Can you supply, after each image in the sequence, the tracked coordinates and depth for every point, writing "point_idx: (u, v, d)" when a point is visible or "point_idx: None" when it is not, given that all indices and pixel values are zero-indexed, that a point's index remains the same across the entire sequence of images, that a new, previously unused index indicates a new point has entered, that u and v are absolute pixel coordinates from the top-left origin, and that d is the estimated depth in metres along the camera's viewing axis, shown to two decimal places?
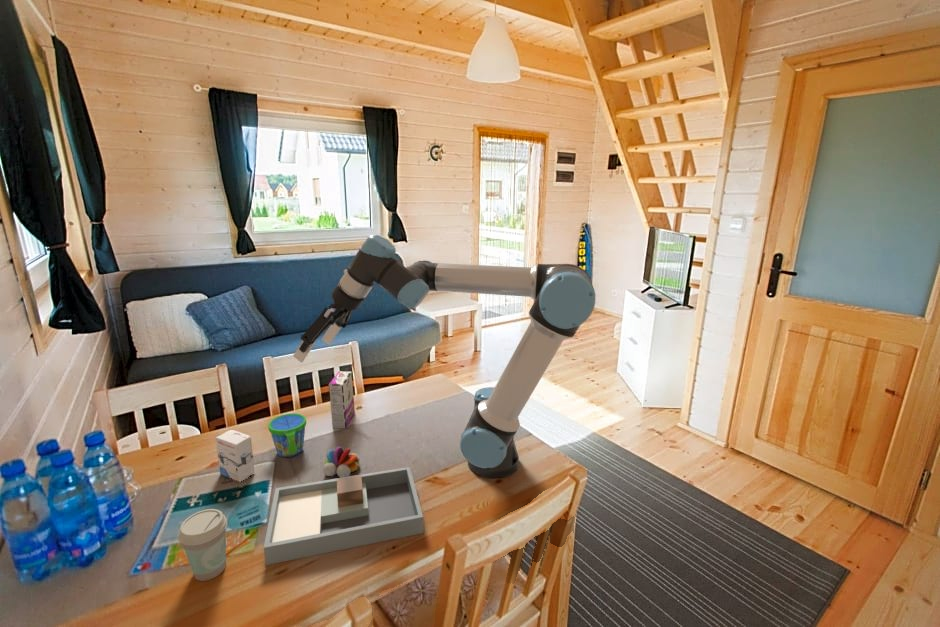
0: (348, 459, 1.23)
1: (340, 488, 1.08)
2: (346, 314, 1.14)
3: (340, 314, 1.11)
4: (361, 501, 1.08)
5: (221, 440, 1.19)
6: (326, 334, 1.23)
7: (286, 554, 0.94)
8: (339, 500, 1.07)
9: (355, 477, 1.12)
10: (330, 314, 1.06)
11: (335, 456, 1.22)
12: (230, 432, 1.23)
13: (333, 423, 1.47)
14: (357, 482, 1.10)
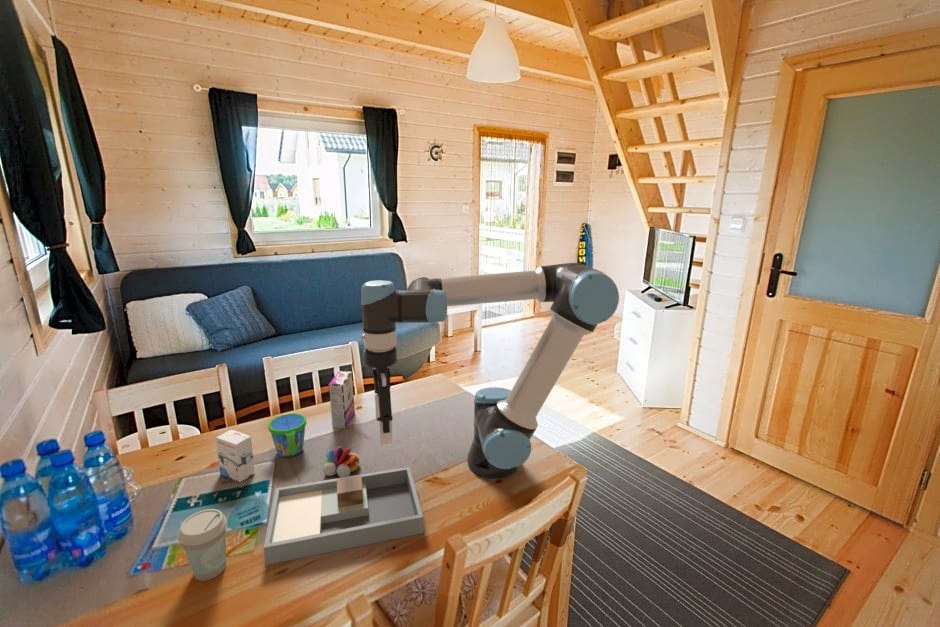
0: (348, 459, 1.24)
1: (340, 488, 1.08)
2: None
3: (388, 375, 1.03)
4: (361, 501, 1.08)
5: (221, 440, 1.19)
6: (377, 410, 1.13)
7: (286, 554, 0.94)
8: (339, 500, 1.07)
9: (355, 477, 1.12)
10: (387, 380, 0.98)
11: (335, 456, 1.22)
12: (230, 432, 1.23)
13: (333, 423, 1.47)
14: (357, 482, 1.10)
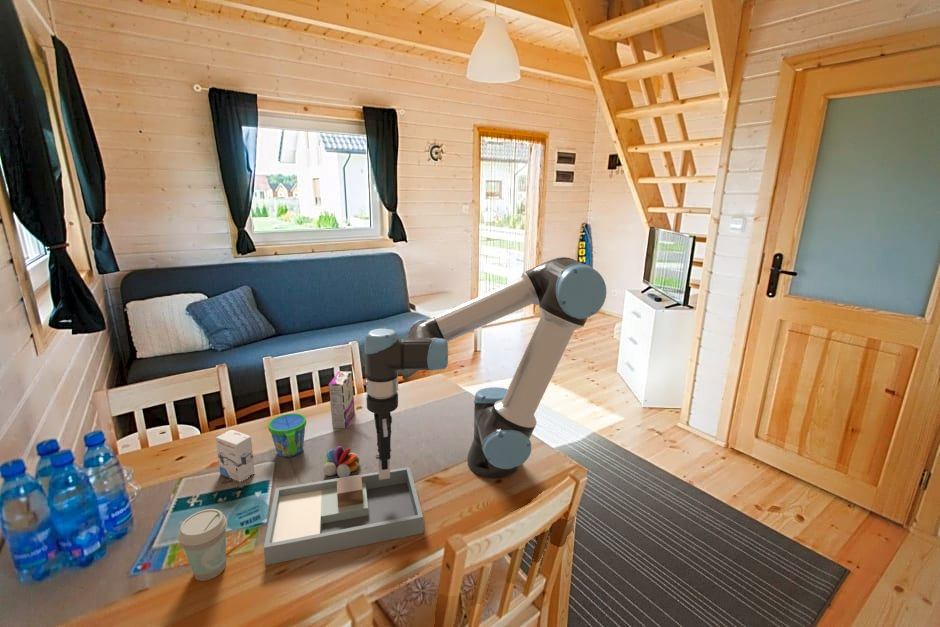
0: (348, 459, 1.24)
1: (340, 488, 1.08)
2: None
3: (390, 421, 1.06)
4: (361, 501, 1.08)
5: (221, 440, 1.19)
6: None
7: (286, 554, 0.94)
8: (339, 500, 1.07)
9: (355, 477, 1.12)
10: (389, 434, 1.02)
11: (335, 456, 1.23)
12: (230, 432, 1.23)
13: (333, 423, 1.47)
14: (357, 482, 1.10)
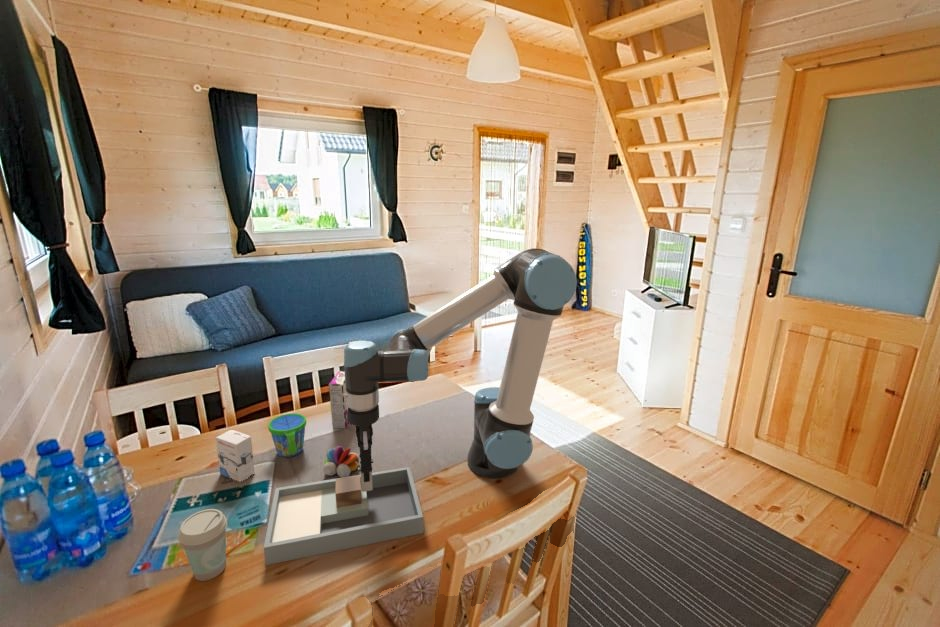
0: (348, 458, 1.24)
1: (338, 488, 1.08)
2: None
3: (371, 433, 1.06)
4: (359, 501, 1.08)
5: (221, 440, 1.19)
6: None
7: (286, 554, 0.94)
8: (337, 500, 1.07)
9: (354, 477, 1.12)
10: (369, 447, 1.02)
11: (335, 455, 1.23)
12: (230, 432, 1.23)
13: (333, 423, 1.47)
14: (355, 482, 1.10)
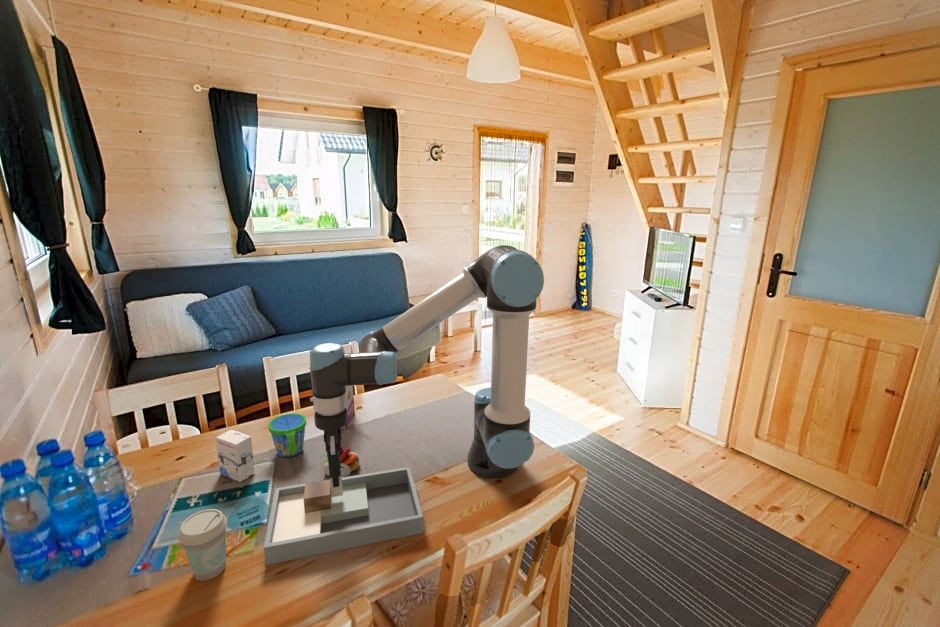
0: (348, 458, 1.24)
1: (307, 493, 1.06)
2: None
3: (339, 437, 1.04)
4: (329, 507, 1.06)
5: (221, 440, 1.19)
6: None
7: (286, 554, 0.94)
8: (306, 505, 1.05)
9: (324, 482, 1.10)
10: (336, 452, 1.00)
11: None
12: (230, 432, 1.23)
13: None
14: (325, 487, 1.08)
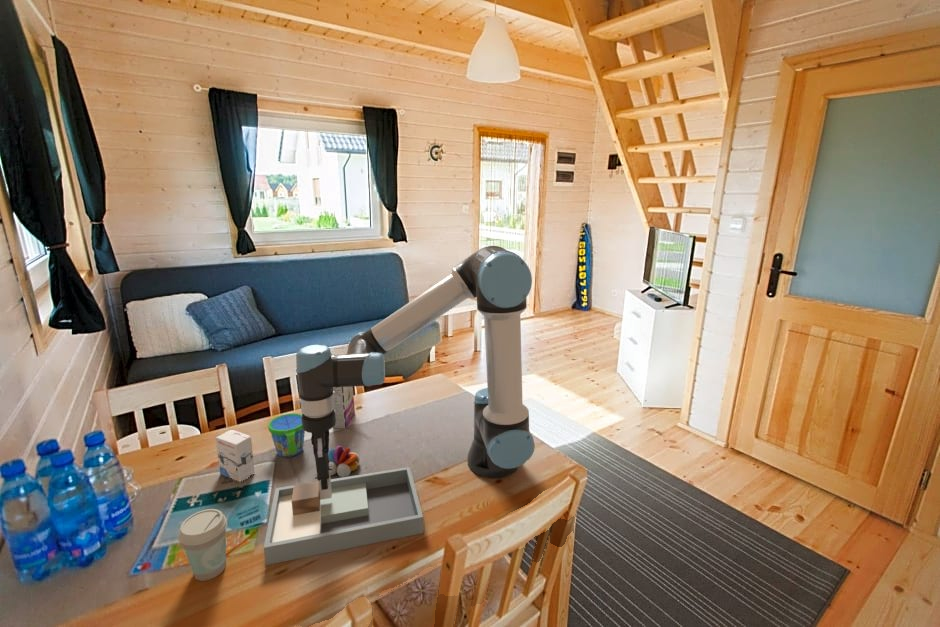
0: (348, 458, 1.24)
1: (295, 495, 1.05)
2: None
3: (327, 440, 1.03)
4: (317, 509, 1.06)
5: (221, 440, 1.19)
6: None
7: (286, 554, 0.94)
8: (294, 508, 1.04)
9: (313, 483, 1.09)
10: (323, 454, 0.99)
11: (335, 455, 1.23)
12: (230, 432, 1.23)
13: None
14: (313, 489, 1.07)
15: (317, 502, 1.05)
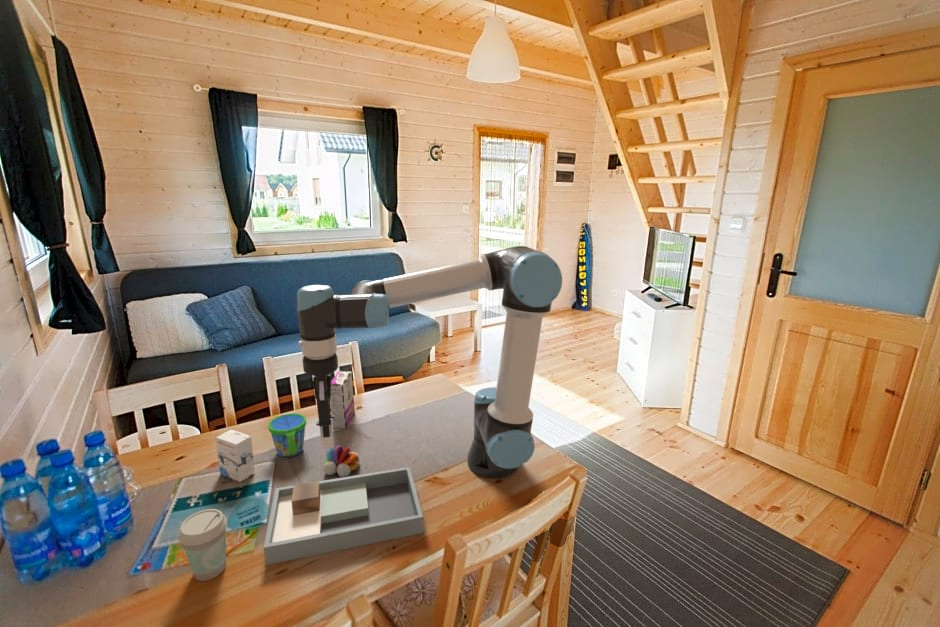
0: (348, 458, 1.24)
1: (295, 495, 1.05)
2: None
3: (329, 384, 1.00)
4: (317, 509, 1.06)
5: (221, 440, 1.19)
6: None
7: (286, 554, 0.94)
8: (294, 508, 1.04)
9: (312, 484, 1.09)
10: (325, 397, 0.96)
11: (335, 455, 1.23)
12: (230, 432, 1.23)
13: (333, 423, 1.47)
14: (313, 489, 1.07)
15: (317, 502, 1.05)
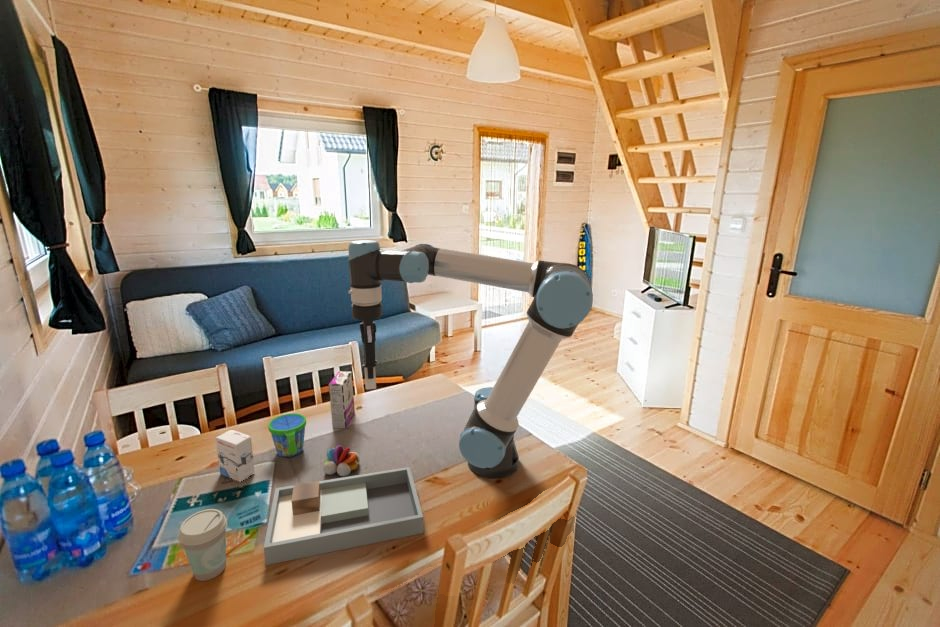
0: (348, 457, 1.24)
1: (295, 495, 1.05)
2: None
3: (374, 330, 1.12)
4: (317, 509, 1.06)
5: (221, 440, 1.19)
6: None
7: (286, 554, 0.94)
8: (294, 508, 1.04)
9: (312, 484, 1.09)
10: (373, 339, 1.08)
11: (335, 454, 1.23)
12: (230, 432, 1.23)
13: (333, 423, 1.47)
14: (313, 489, 1.07)
15: (317, 502, 1.05)
